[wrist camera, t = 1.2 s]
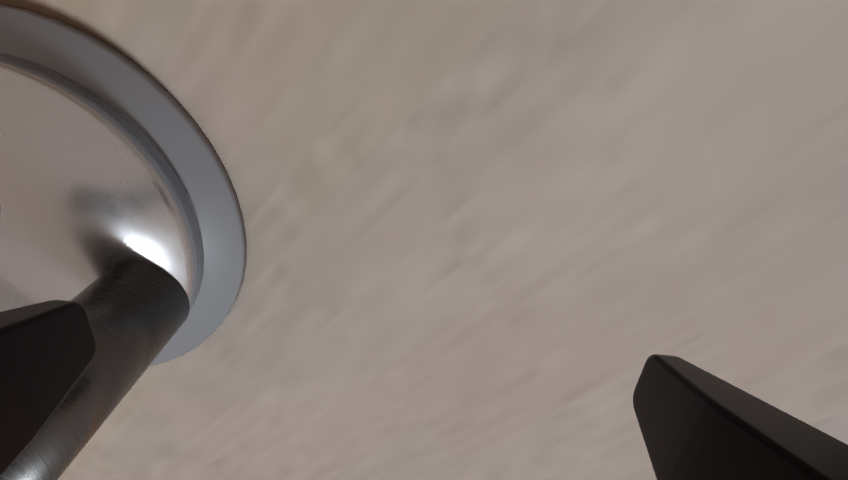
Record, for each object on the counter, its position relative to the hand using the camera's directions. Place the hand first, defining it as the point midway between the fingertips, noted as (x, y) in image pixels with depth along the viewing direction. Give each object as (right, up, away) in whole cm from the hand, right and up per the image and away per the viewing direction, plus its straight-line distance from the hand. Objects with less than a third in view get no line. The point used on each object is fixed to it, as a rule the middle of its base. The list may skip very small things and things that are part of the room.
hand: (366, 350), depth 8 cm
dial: (-15, +3, +13) cm, 21 cm away
